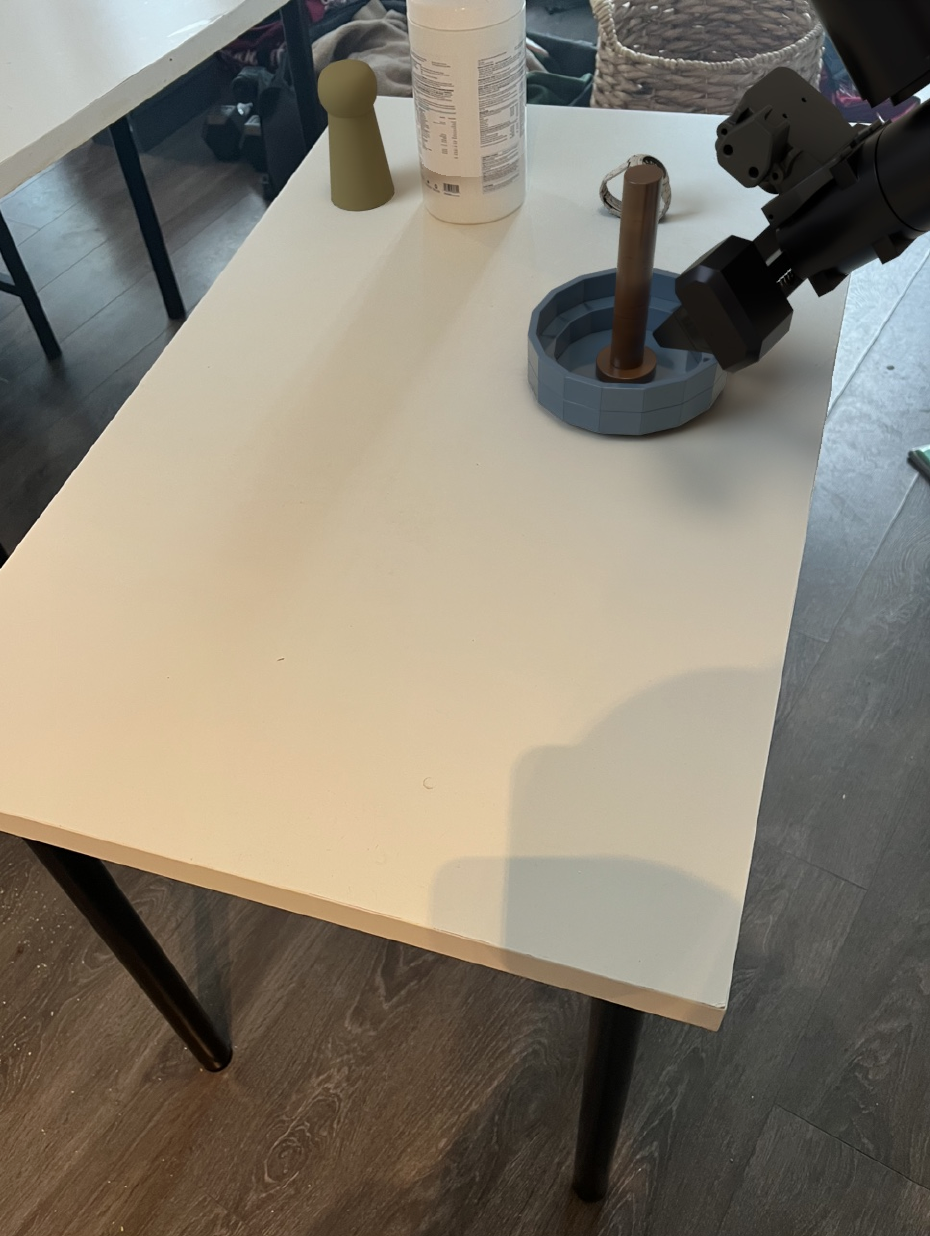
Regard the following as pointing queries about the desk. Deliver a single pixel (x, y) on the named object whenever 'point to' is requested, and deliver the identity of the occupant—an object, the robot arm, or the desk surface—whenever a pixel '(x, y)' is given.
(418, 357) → the desk surface
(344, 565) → the desk surface
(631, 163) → the wristwatch
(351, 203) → the olive pawn
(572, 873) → the desk surface
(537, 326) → the bowl
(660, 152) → the desk surface
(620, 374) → the brown cylinder with base
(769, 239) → the robot arm
